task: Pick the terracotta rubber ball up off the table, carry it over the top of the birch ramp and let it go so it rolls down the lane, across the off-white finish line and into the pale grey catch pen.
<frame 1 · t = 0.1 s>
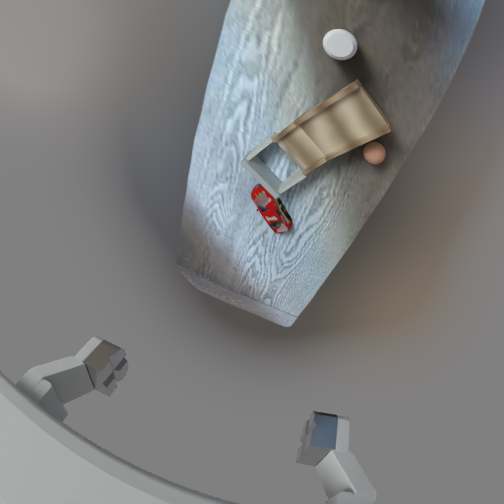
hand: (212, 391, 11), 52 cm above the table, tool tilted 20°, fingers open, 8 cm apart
catch pen: (278, 160, 59), on the table
race car: (273, 204, 68), on the table
ramp: (341, 115, 49), on the table
ball: (374, 152, 50), point 2 cm above the table
supplement bottle: (340, 43, 39), on the table
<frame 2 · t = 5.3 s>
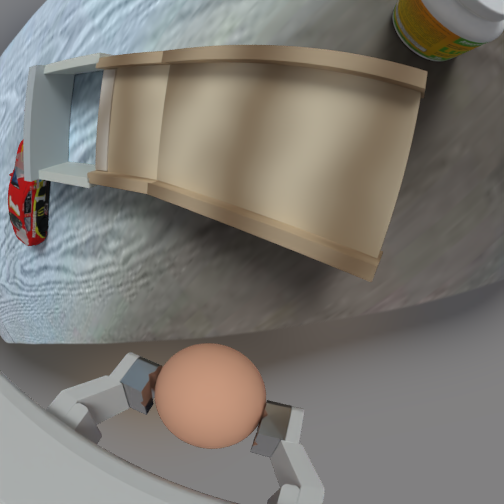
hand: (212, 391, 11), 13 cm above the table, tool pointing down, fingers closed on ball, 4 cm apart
catch pen: (90, 117, 21), on the table
race car: (40, 187, 26), on the table
ramp: (277, 135, 19), on the table
ball: (210, 396, 11), point 14 cm above the table, touching gripper
supplement bottle: (425, 29, 13), on the table
when the fingers open (10 cm above the table, at t = 7.0 s): ball drops 8 cm and tips over, point 2 cm above the table.
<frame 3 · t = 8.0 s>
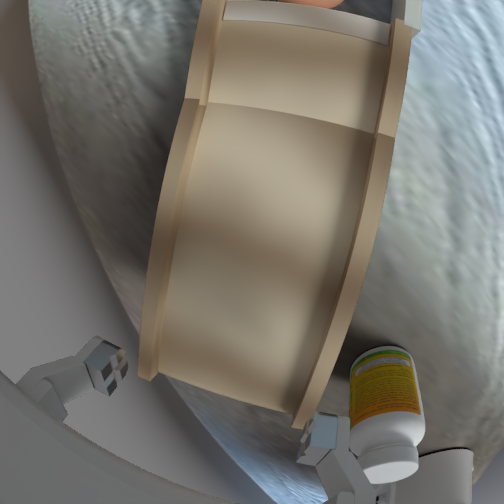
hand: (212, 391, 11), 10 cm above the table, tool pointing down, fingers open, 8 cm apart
ramp: (273, 231, 18), on the table
supplement bottle: (381, 365, 21), on the table
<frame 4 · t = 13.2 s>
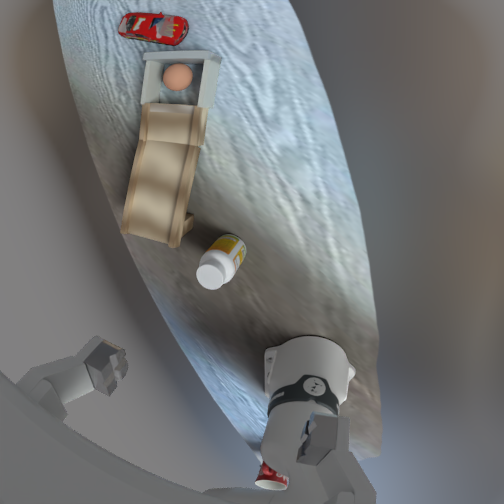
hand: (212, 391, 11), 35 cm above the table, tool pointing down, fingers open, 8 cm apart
catch pen: (185, 81, 38), on the table
mug: (279, 445, 72), on the table
race car: (157, 29, 36), on the table
ramp: (174, 183, 46), on the table
ball: (177, 77, 36), point 2 cm above the table, tilted 162°
supplement bottle: (231, 248, 49), on the table
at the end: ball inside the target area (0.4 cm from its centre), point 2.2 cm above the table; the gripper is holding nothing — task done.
